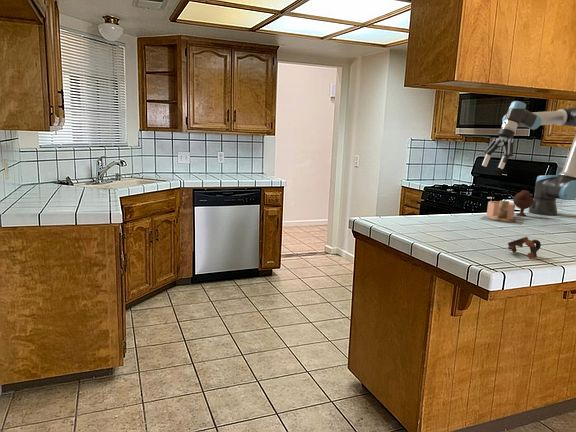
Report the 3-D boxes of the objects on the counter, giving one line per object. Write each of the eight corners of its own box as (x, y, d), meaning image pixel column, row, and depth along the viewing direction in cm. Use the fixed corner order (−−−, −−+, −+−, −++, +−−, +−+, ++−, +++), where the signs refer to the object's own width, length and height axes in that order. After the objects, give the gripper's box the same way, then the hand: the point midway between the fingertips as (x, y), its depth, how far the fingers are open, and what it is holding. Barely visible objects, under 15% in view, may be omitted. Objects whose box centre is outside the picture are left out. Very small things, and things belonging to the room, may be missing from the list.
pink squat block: (514, 217, 252) (516, 203, 251) (510, 220, 242) (512, 205, 240) (489, 214, 259) (491, 200, 258) (485, 217, 249) (486, 202, 247)
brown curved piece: (525, 261, 161) (515, 240, 163) (508, 265, 170) (499, 245, 172) (551, 252, 164) (542, 231, 166) (533, 256, 173) (524, 236, 175)
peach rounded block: (517, 220, 240) (519, 201, 238) (513, 223, 229) (516, 204, 227) (491, 216, 247) (493, 198, 245) (486, 219, 236) (488, 200, 234)
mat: (524, 222, 238) (524, 221, 238) (520, 225, 227) (521, 224, 227) (484, 216, 249) (484, 215, 249) (479, 220, 238) (479, 219, 238)
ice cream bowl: (536, 217, 256) (540, 191, 253) (522, 217, 252) (525, 191, 249) (520, 213, 266) (524, 188, 263) (506, 214, 261) (510, 188, 259)
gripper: (487, 127, 252) (472, 162, 254) (519, 127, 228) (502, 166, 231) (497, 132, 254) (482, 167, 256) (530, 132, 230) (513, 171, 233)
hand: (492, 167), depth 243 cm, fingers open, 13 cm apart
